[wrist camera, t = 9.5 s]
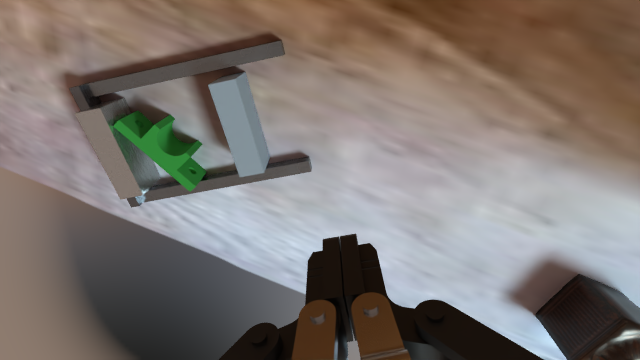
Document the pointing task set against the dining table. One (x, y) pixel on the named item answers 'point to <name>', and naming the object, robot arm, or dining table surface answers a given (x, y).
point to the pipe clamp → (163, 147)
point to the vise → (132, 163)
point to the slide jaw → (240, 123)
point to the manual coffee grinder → (592, 322)
